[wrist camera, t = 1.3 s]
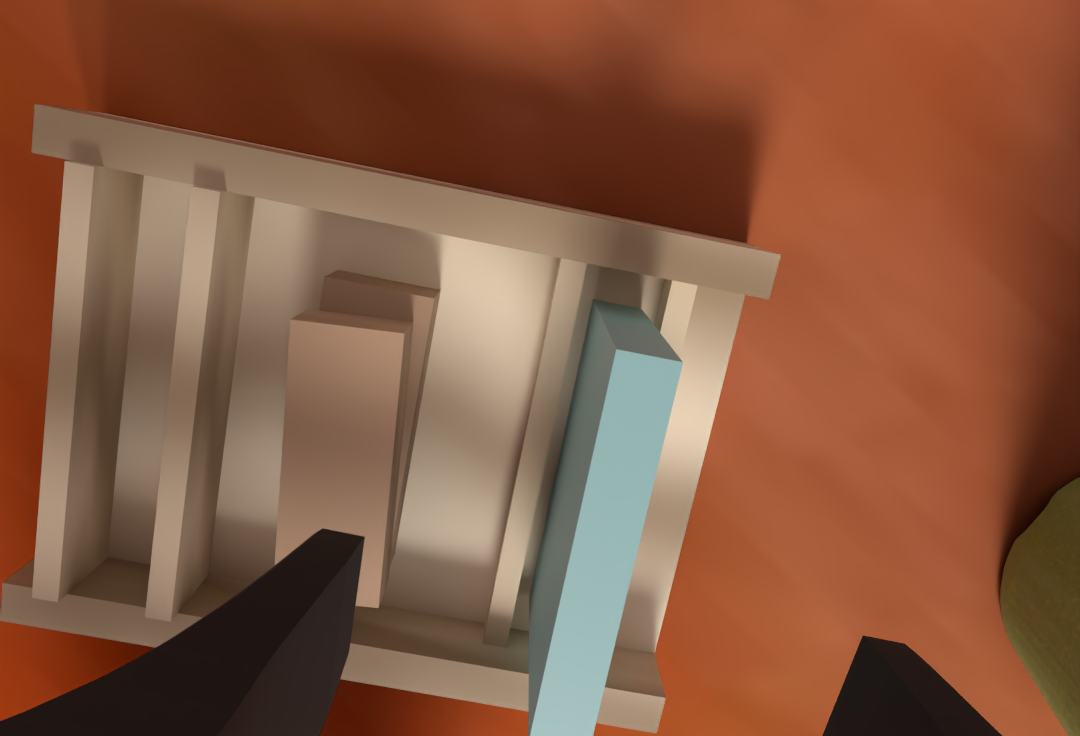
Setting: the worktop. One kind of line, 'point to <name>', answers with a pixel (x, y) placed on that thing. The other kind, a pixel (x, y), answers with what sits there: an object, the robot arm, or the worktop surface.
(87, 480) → the rack
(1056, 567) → the plant pot
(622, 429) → the teal rectangular plate
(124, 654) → the worktop surface
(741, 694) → the worktop surface
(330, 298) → the offcut lower
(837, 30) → the worktop surface
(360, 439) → the offcut upper
